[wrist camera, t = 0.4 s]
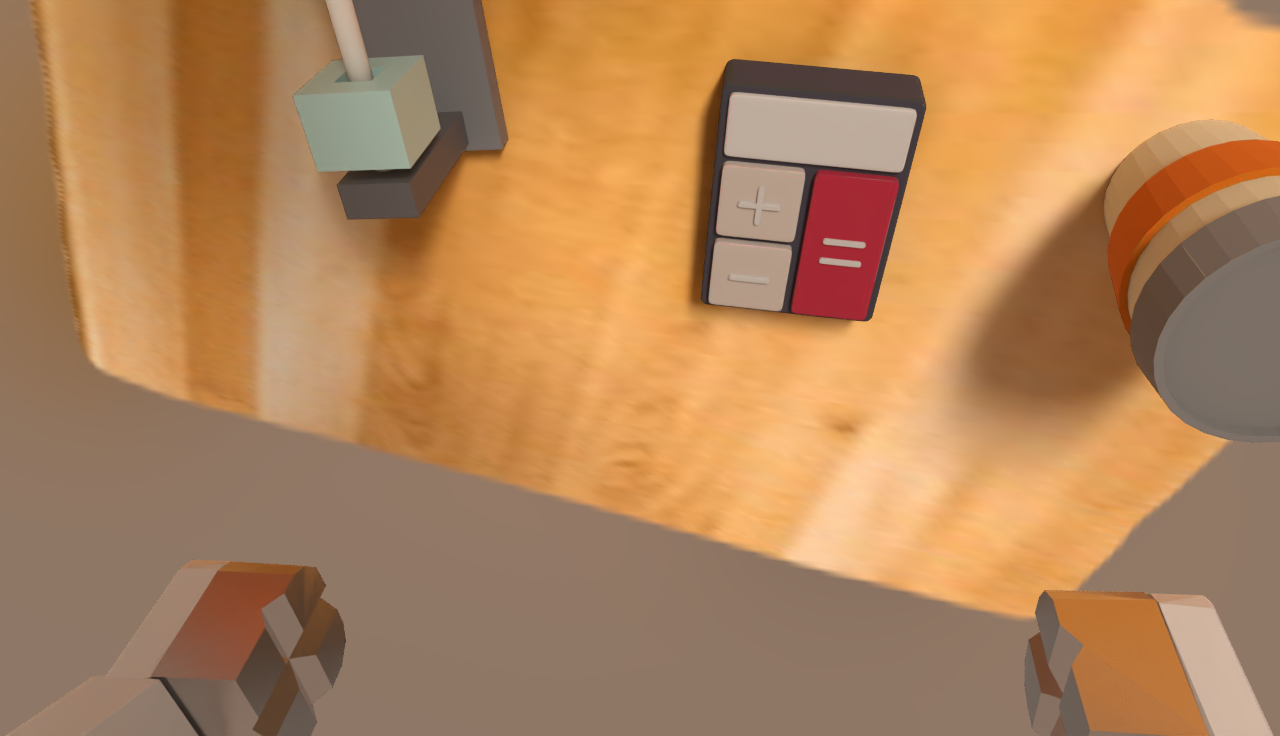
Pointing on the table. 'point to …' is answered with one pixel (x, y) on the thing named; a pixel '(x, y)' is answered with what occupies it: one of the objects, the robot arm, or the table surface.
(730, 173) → the calculator
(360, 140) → the sleeve
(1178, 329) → the reusable coffee cup
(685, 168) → the table surface
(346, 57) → the sliding block rail stand
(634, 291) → the table surface
